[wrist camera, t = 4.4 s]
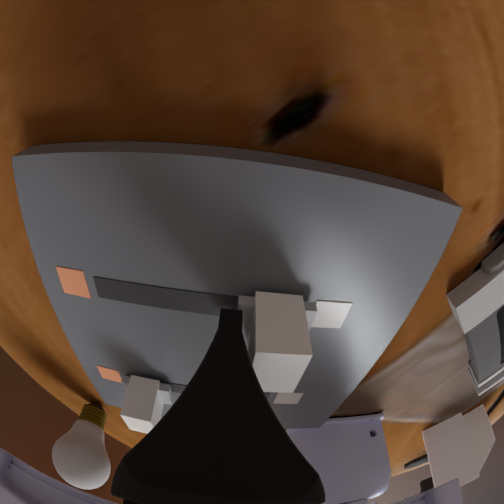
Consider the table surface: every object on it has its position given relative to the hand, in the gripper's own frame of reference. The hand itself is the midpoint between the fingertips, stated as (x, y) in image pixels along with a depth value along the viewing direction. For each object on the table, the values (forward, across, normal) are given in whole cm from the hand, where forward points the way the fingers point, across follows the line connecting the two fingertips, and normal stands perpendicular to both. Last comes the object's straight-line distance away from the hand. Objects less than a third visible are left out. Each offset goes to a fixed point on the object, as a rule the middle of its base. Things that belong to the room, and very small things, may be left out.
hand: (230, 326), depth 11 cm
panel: (+3, +1, +4) cm, 5 cm away
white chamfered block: (+3, -37, +27) cm, 46 cm away
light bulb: (+3, +13, +19) cm, 23 cm away
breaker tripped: (+1, -2, 0) cm, 2 cm away
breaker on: (+1, +5, +8) cm, 9 cm away
